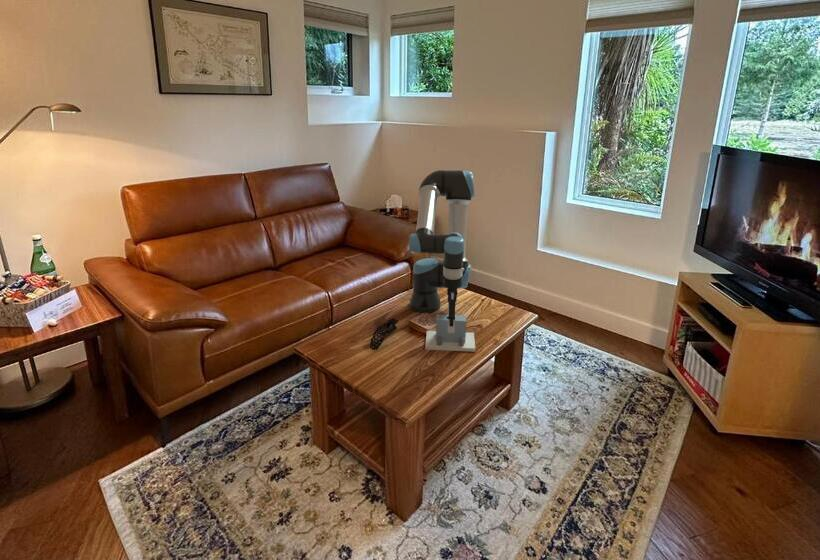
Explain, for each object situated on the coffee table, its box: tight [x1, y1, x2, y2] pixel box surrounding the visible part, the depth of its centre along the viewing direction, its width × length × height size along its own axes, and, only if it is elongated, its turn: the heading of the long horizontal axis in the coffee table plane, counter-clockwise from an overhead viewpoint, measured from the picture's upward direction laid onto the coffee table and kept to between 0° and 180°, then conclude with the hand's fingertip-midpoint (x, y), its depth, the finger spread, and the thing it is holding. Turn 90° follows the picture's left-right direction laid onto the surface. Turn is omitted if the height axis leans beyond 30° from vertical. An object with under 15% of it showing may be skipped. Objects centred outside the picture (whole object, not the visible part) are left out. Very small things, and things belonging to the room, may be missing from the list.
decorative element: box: [369, 317, 399, 351], centre depth 196 cm, size 22×5×6 cm, turn 160°
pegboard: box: [424, 330, 476, 353], centre depth 192 cm, size 20×13×4 cm, turn 86°
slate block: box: [435, 314, 467, 343], centre depth 191 cm, size 12×5×10 cm, turn 85°
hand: (450, 324), depth 190 cm, fingers open, 13 cm apart
